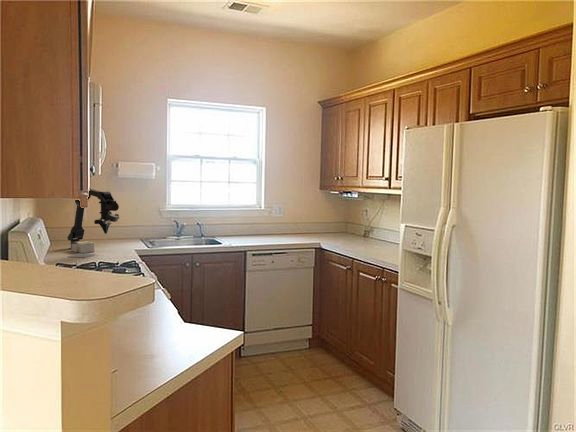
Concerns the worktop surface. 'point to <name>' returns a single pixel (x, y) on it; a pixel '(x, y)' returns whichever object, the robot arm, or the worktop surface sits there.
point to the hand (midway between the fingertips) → (105, 233)
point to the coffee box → (82, 246)
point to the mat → (81, 255)
